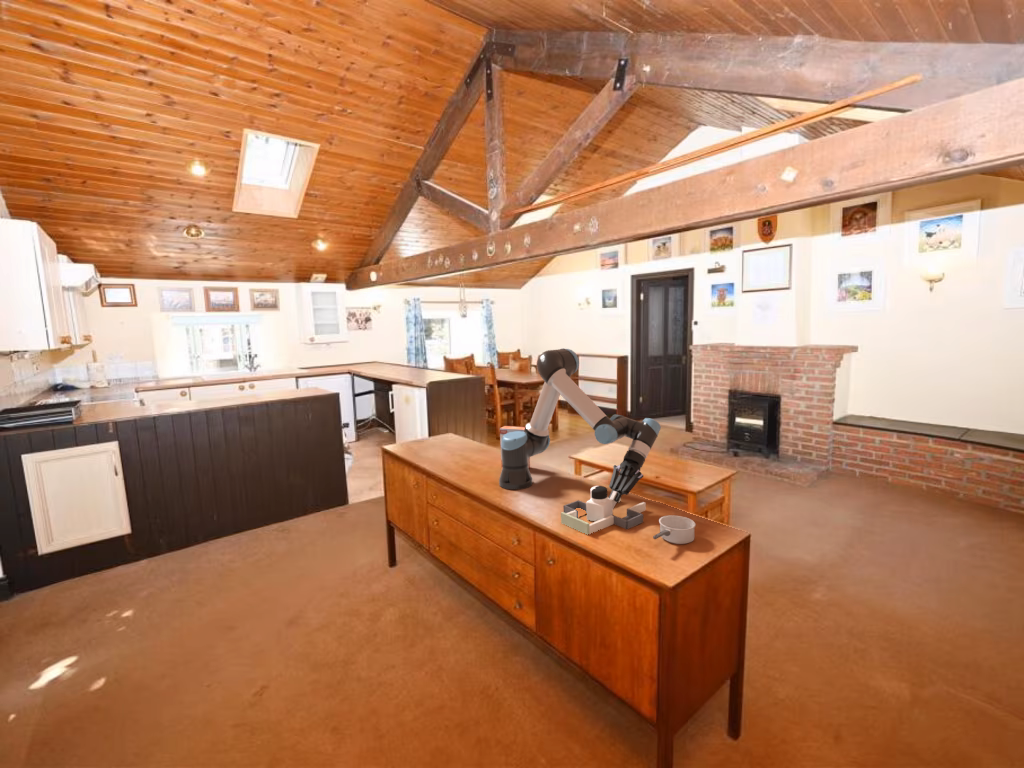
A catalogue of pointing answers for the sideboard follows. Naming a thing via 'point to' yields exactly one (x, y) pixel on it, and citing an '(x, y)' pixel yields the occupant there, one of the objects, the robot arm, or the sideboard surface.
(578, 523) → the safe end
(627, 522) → the channel
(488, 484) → the sideboard surface
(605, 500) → the medicine bottle
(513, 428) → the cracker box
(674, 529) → the saucepan
